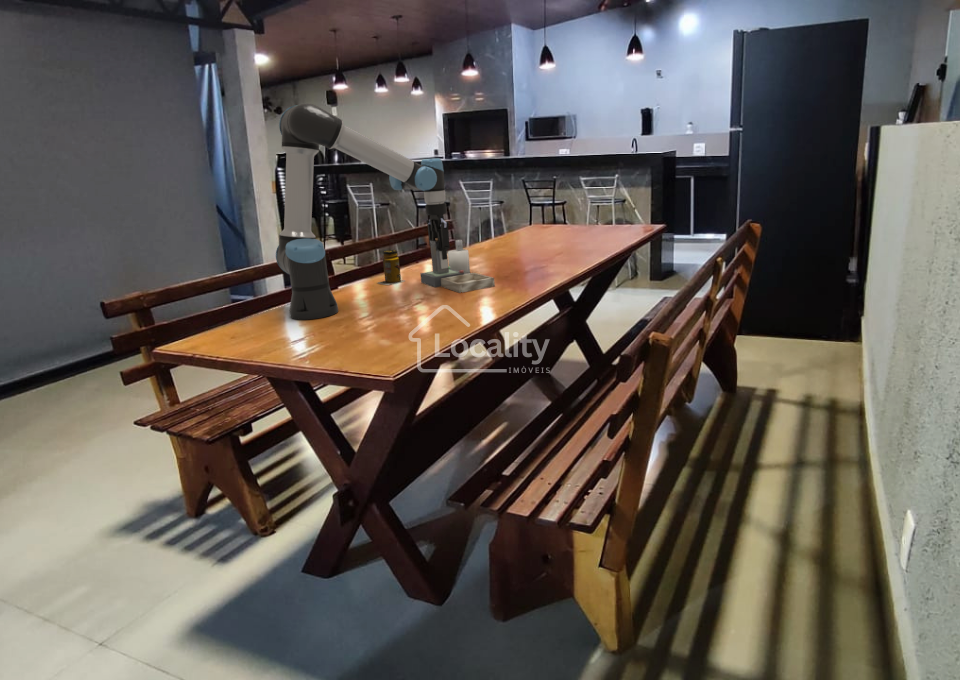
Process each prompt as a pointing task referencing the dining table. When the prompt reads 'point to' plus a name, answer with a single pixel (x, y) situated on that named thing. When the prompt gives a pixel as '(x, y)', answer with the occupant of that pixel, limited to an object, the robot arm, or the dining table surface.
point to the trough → (467, 282)
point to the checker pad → (441, 274)
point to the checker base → (437, 278)
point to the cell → (436, 257)
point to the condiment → (391, 268)
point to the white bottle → (459, 258)
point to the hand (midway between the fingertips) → (441, 267)
